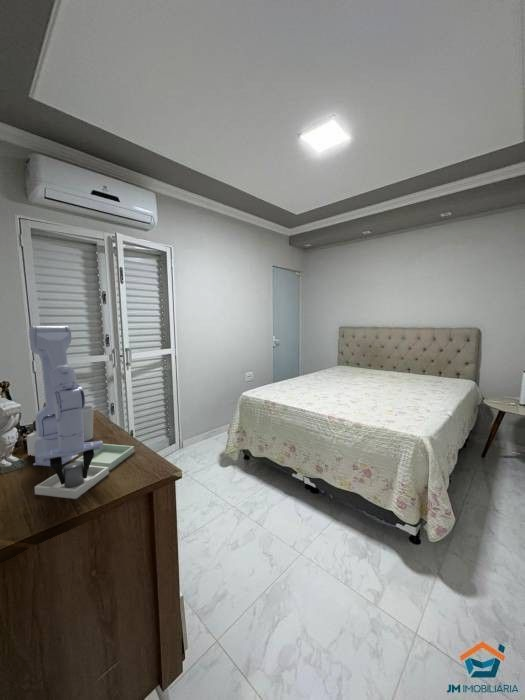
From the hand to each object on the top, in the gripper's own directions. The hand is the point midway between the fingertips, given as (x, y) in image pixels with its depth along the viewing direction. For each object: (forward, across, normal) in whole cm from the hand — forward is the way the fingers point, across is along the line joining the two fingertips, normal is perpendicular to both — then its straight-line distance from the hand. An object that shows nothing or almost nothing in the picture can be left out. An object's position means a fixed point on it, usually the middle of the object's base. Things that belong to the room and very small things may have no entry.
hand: (74, 479), depth 77 cm
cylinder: (+1, 0, 0) cm, 1 cm away
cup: (+2, +4, +35) cm, 36 cm away
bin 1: (+2, 0, 0) cm, 2 cm away
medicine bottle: (+2, -7, +30) cm, 31 cm away
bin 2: (+2, +9, +11) cm, 14 cm away
